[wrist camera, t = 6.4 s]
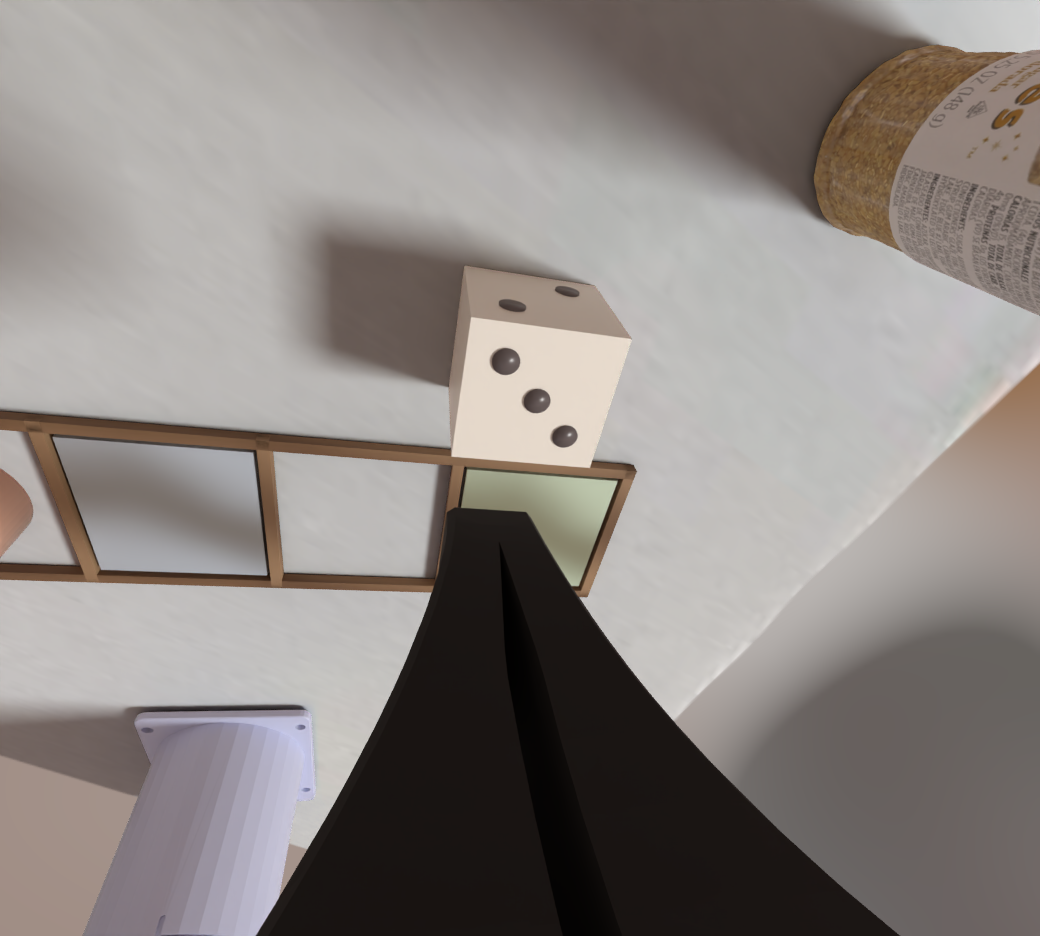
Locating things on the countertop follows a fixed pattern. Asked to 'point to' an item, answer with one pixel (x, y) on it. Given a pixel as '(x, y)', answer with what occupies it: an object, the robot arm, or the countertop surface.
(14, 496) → the peach domed cylinder
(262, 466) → the brown divided frame
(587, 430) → the die
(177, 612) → the countertop surface
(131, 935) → the robot arm
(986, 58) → the sprinkles bottle
